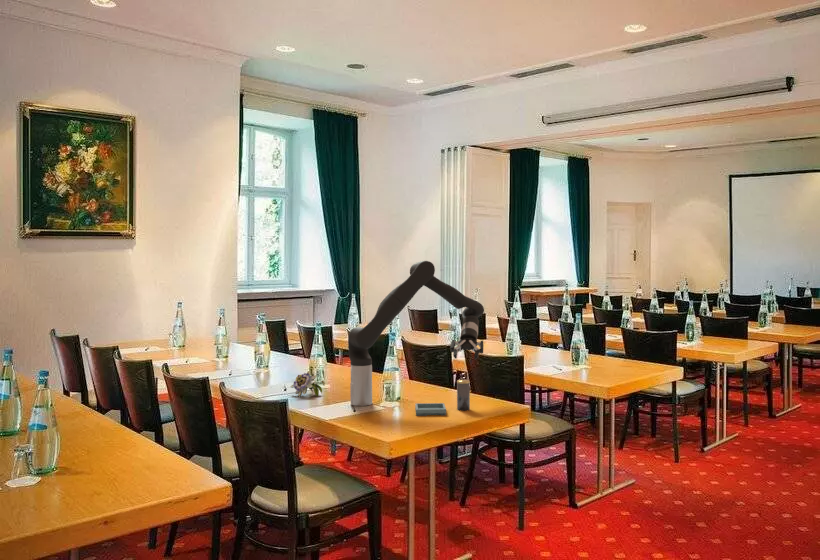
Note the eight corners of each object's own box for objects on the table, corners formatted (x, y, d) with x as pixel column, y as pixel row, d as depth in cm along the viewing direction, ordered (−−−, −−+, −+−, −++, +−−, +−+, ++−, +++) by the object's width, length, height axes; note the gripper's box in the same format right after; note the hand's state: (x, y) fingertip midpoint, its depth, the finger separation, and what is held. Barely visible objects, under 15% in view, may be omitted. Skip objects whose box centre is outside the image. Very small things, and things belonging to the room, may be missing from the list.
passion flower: (300, 409, 332) (283, 385, 333) (315, 399, 342) (299, 376, 344) (316, 396, 325) (299, 372, 327) (332, 387, 336) (315, 363, 337)
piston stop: (457, 410, 298) (457, 381, 298) (456, 408, 304) (456, 379, 303) (470, 410, 298) (470, 381, 298) (469, 408, 304) (468, 379, 303)
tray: (416, 415, 290) (416, 409, 290) (415, 409, 302) (415, 403, 302) (446, 415, 290) (446, 409, 290) (444, 409, 302) (444, 403, 302)
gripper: (453, 326, 322) (448, 350, 309) (485, 327, 319) (481, 351, 306) (454, 340, 326) (449, 363, 313) (485, 341, 323) (482, 364, 310)
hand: (465, 357), depth 309 cm, fingers open, 8 cm apart
